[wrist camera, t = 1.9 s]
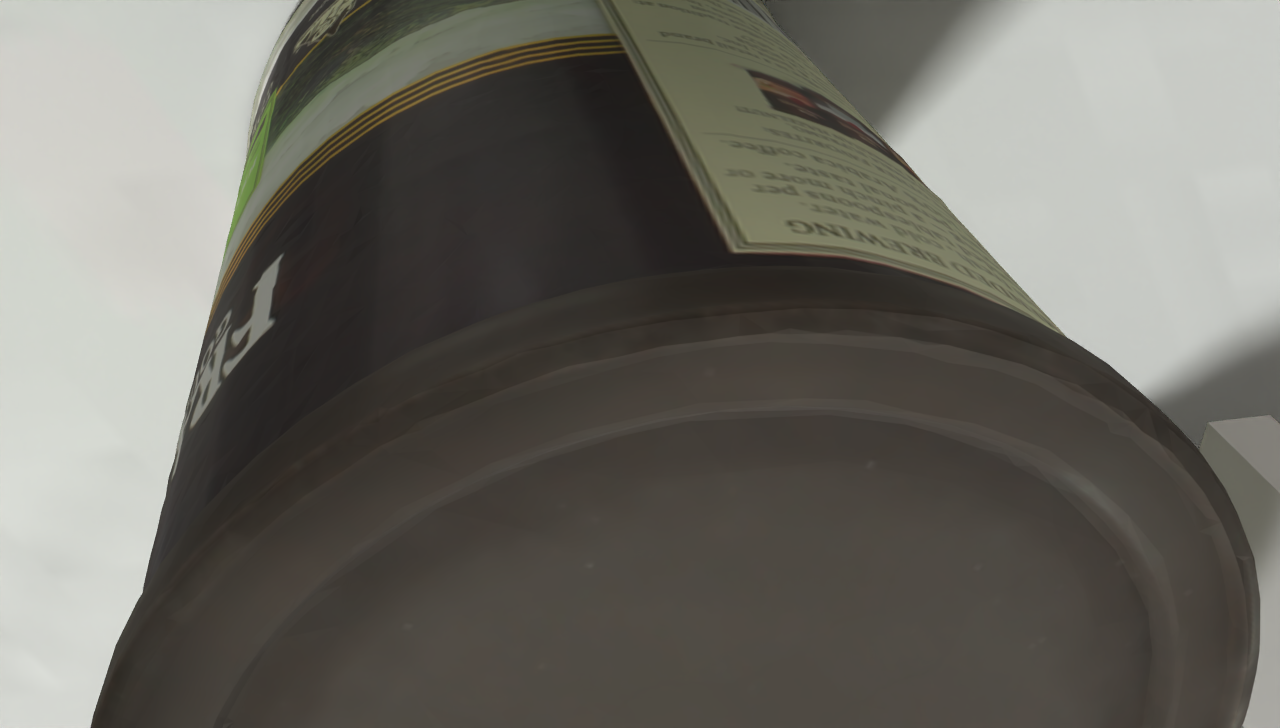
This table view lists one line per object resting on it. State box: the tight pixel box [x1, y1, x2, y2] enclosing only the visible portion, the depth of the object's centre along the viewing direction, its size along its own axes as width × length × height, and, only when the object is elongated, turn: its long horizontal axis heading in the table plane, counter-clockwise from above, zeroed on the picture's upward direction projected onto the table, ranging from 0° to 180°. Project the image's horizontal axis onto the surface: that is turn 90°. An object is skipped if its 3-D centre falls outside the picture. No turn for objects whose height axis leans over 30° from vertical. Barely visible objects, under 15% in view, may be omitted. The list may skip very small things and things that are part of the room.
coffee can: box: [91, 0, 1260, 728], centre depth 17 cm, size 10×10×14 cm
